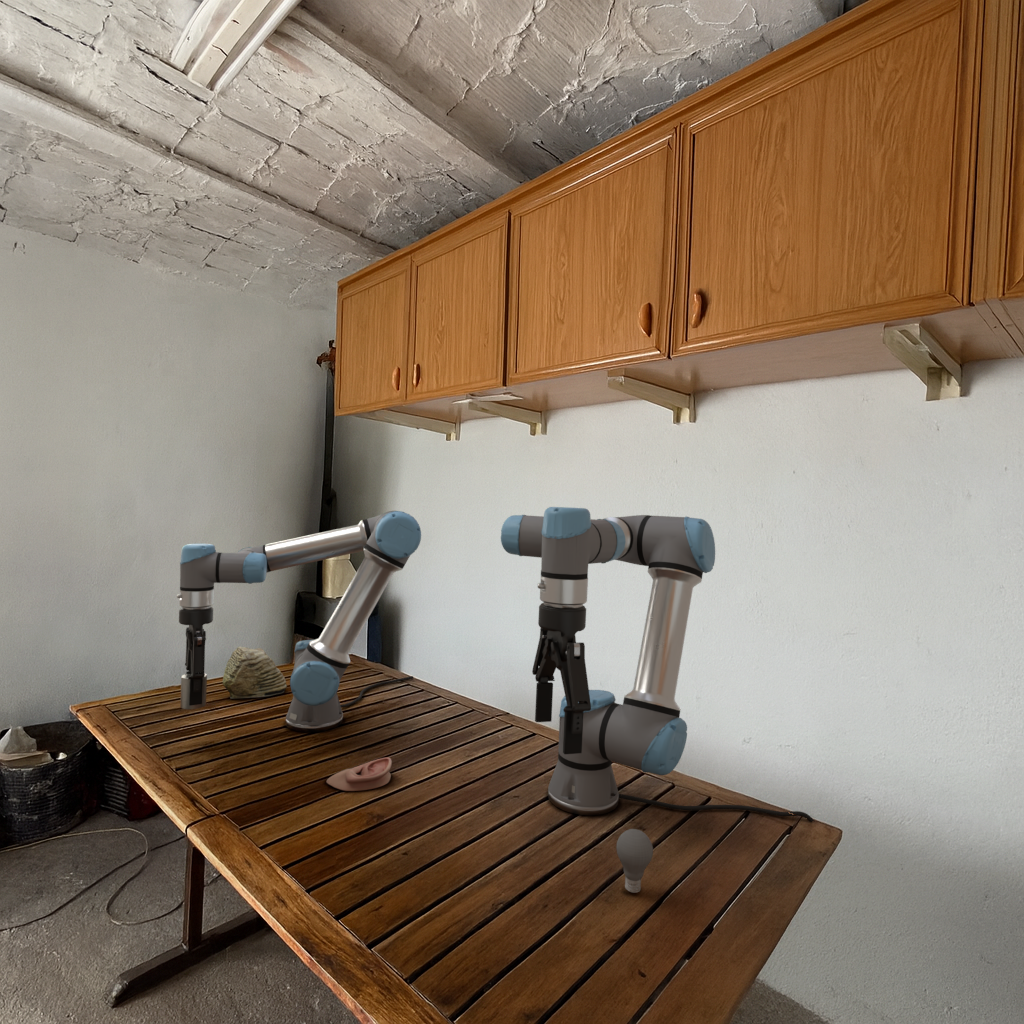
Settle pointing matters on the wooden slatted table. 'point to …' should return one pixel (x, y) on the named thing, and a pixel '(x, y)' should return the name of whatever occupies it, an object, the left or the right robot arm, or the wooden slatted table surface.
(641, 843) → the light bulb
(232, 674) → the fossil
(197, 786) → the wooden slatted table surface
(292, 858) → the wooden slatted table surface
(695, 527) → the right robot arm
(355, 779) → the anatomical model
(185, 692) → the canister
